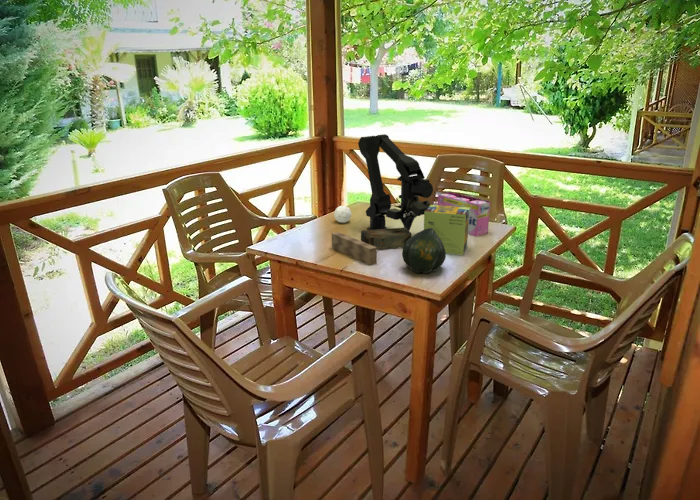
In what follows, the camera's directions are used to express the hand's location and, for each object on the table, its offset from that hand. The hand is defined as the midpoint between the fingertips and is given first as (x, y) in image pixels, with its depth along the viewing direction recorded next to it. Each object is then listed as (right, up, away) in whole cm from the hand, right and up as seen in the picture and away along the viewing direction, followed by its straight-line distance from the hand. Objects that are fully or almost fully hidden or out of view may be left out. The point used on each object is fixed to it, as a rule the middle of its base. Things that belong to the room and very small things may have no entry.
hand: (407, 231), depth 198 cm
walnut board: (-22, -9, -14) cm, 28 cm away
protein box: (+13, -7, -9) cm, 17 cm away
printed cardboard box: (-9, -6, -5) cm, 12 cm away
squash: (+2, -14, -27) cm, 31 cm away
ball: (-26, +5, +26) cm, 37 cm away
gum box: (+25, +2, +15) cm, 29 cm away
